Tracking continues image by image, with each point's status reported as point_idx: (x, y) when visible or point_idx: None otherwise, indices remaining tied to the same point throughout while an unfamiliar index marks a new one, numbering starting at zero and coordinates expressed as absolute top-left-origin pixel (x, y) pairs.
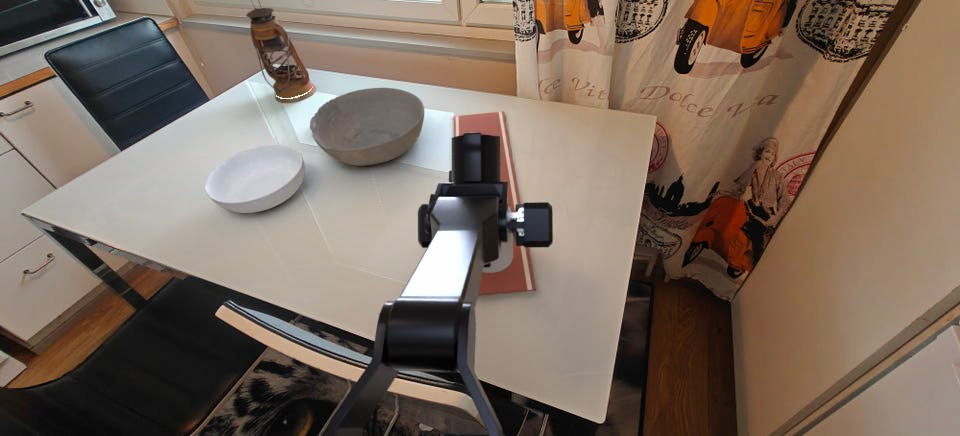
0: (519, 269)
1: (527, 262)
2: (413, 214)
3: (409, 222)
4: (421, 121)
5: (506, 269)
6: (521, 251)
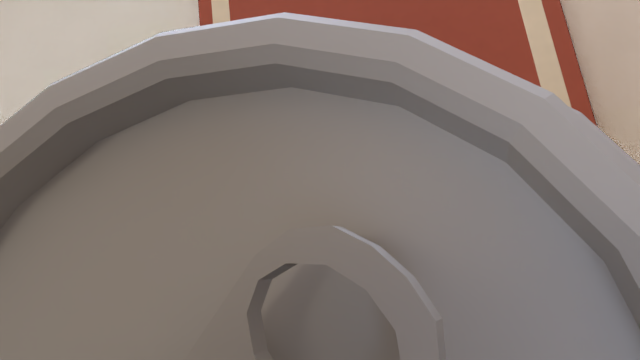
0: None
1: None
2: (32, 19)
3: (17, 65)
4: None
5: None
6: None
